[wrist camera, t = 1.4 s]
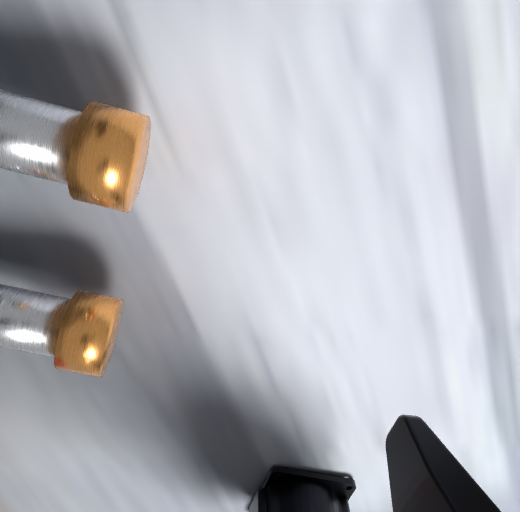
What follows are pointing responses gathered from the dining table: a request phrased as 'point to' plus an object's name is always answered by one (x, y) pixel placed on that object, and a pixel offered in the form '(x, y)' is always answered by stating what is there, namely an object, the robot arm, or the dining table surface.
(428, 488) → the robot arm
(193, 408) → the dining table surface
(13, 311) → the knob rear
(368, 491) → the dining table surface
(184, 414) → the dining table surface
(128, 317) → the dining table surface
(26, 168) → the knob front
